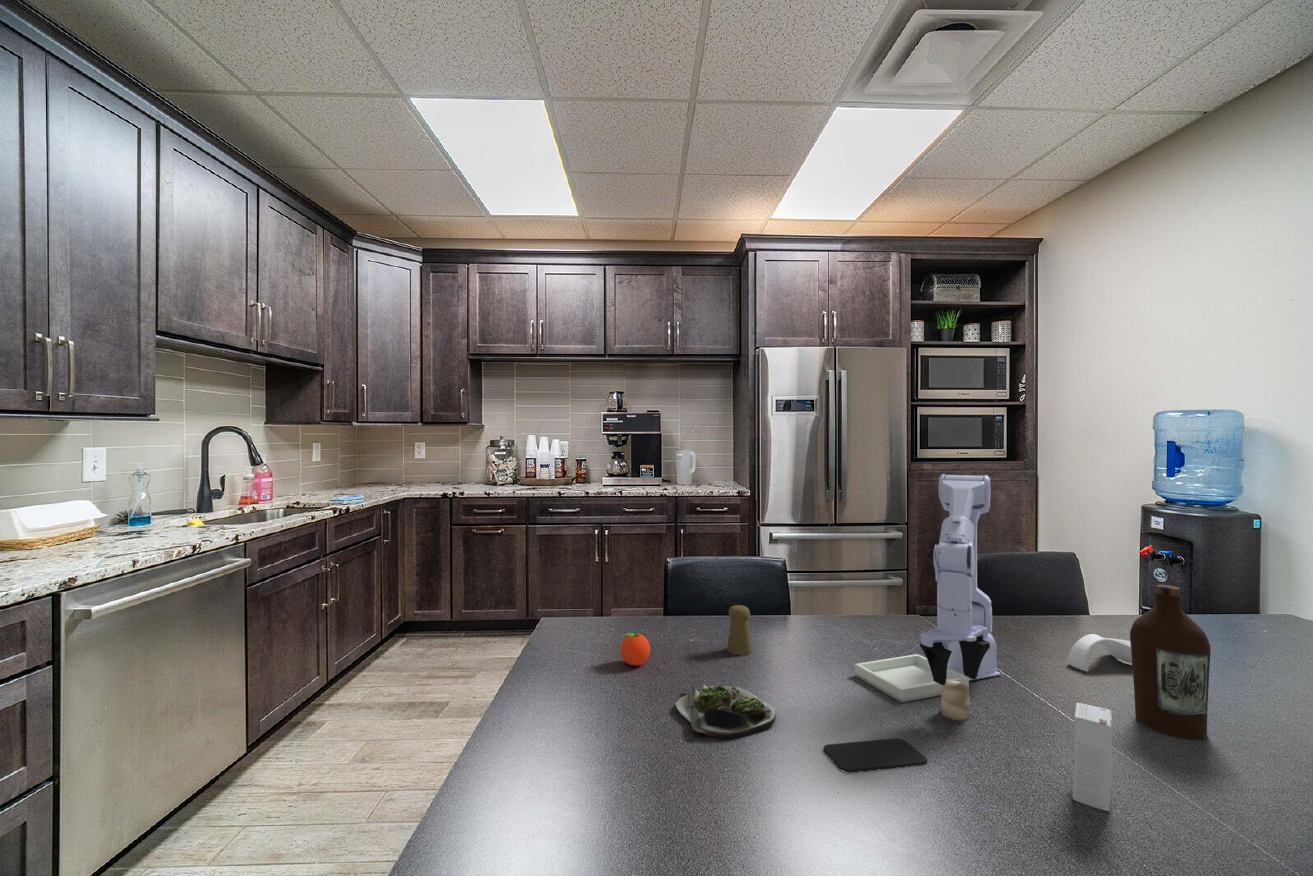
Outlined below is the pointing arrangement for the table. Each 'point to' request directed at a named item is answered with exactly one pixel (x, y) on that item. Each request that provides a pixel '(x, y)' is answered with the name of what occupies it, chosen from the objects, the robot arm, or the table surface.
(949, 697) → the beige rounded cylinder
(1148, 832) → the table surface
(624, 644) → the clementine
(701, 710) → the salad plate
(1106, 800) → the skincare box
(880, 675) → the tray
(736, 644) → the cork
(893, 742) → the phone
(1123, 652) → the white curved arch piece
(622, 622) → the table surface
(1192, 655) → the brown liquor bottle
